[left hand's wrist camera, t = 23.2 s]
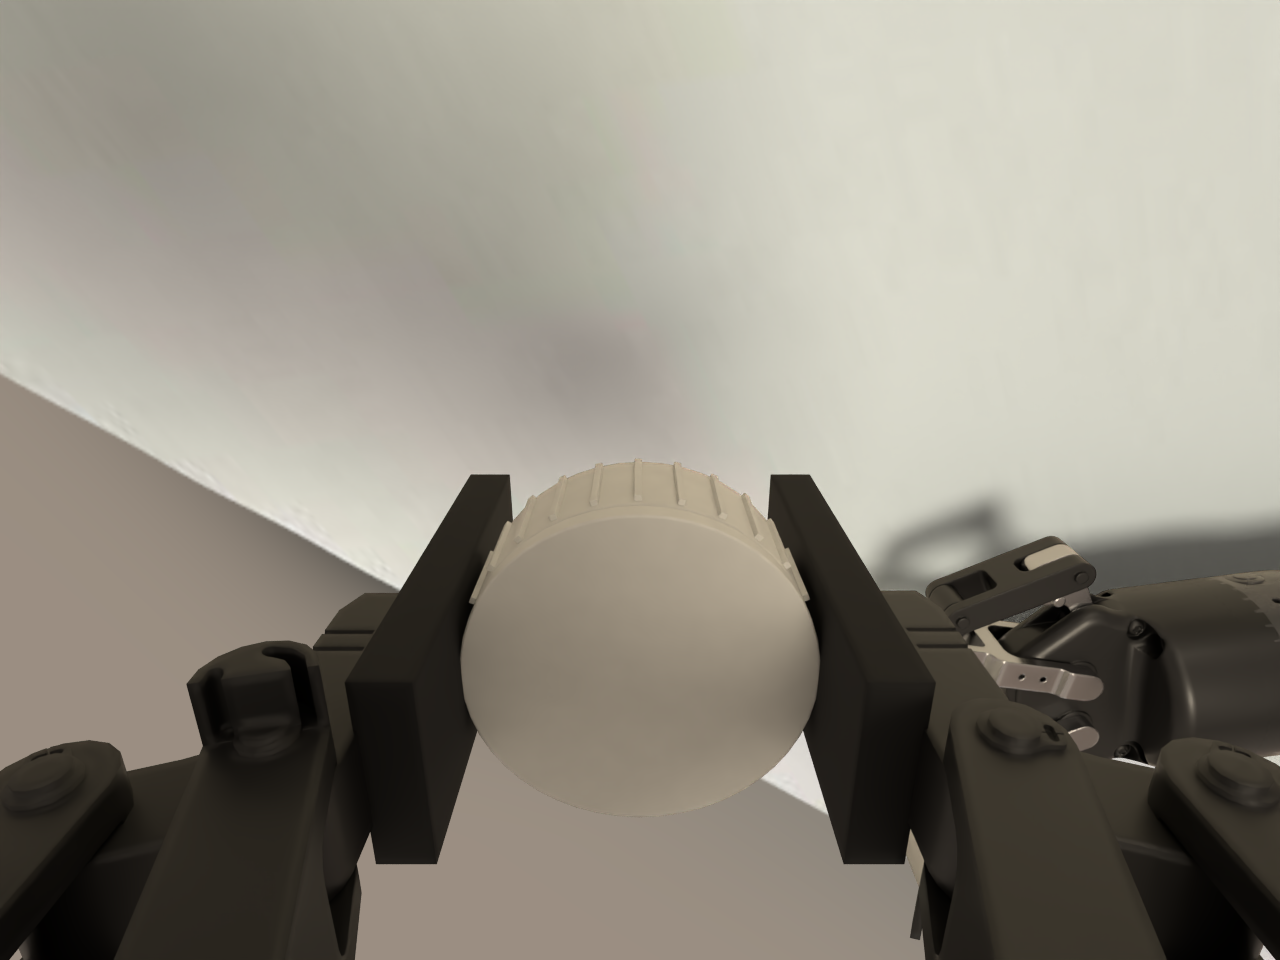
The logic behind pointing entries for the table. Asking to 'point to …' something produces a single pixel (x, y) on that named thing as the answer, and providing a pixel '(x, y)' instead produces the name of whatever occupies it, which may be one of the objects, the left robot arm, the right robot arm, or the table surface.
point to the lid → (640, 642)
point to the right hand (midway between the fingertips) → (836, 711)
